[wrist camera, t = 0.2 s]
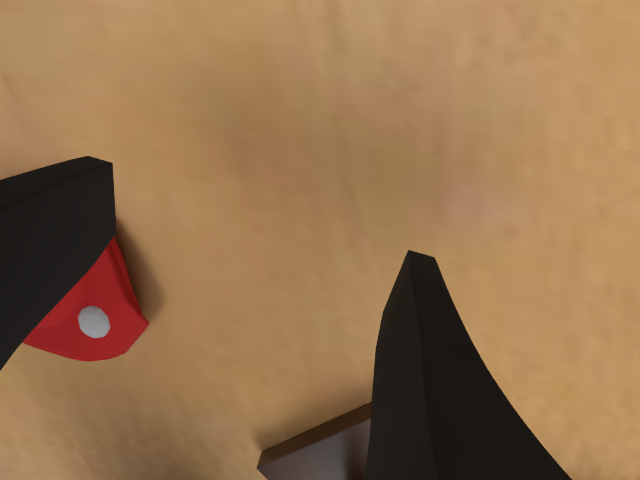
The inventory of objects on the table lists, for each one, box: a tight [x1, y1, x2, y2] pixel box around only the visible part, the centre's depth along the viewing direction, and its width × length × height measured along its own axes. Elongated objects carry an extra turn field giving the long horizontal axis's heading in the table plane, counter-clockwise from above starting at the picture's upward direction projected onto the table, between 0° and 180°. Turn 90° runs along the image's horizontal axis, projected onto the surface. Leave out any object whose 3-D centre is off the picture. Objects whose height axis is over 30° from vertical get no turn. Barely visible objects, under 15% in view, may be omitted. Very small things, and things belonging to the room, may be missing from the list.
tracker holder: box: [23, 236, 149, 362], centre depth 25 cm, size 12×4×10 cm
